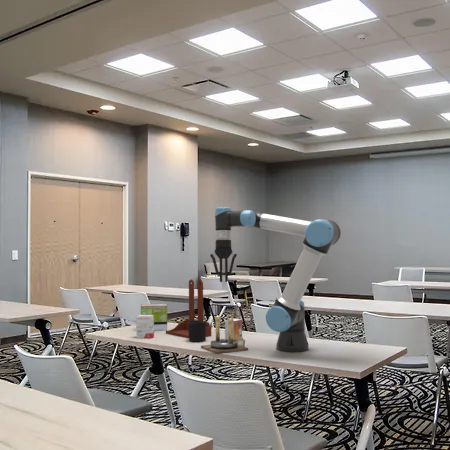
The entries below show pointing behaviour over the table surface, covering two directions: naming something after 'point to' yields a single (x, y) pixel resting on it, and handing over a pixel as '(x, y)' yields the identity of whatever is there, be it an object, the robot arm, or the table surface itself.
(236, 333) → the small box
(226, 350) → the stand
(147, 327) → the ink box
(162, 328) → the tea box
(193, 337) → the pen holder
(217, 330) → the brass post metal stand
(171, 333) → the dustpan and brush
